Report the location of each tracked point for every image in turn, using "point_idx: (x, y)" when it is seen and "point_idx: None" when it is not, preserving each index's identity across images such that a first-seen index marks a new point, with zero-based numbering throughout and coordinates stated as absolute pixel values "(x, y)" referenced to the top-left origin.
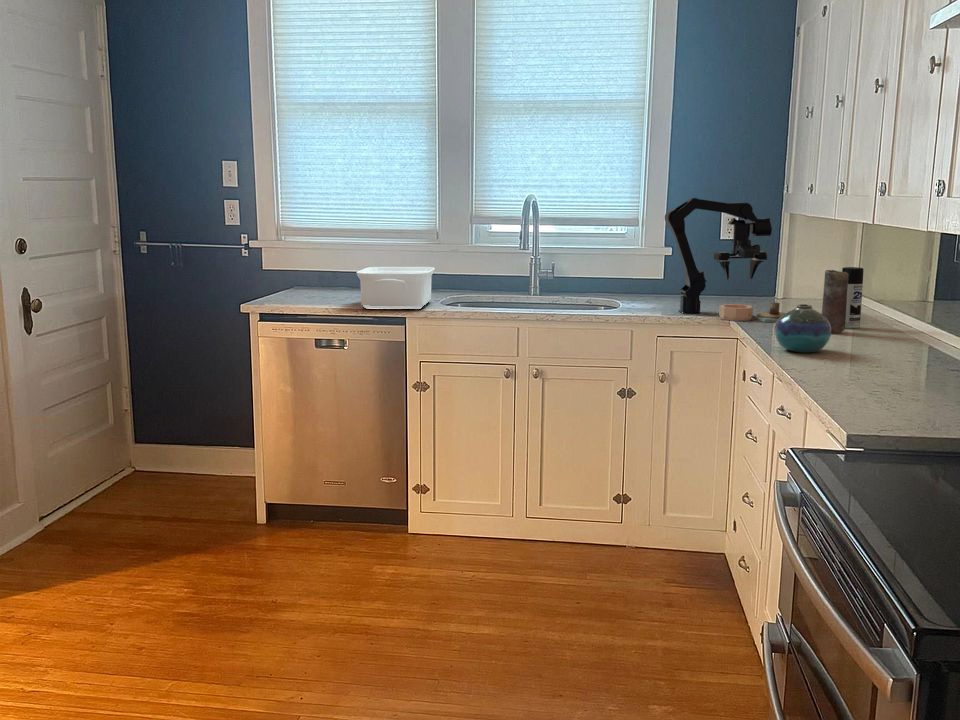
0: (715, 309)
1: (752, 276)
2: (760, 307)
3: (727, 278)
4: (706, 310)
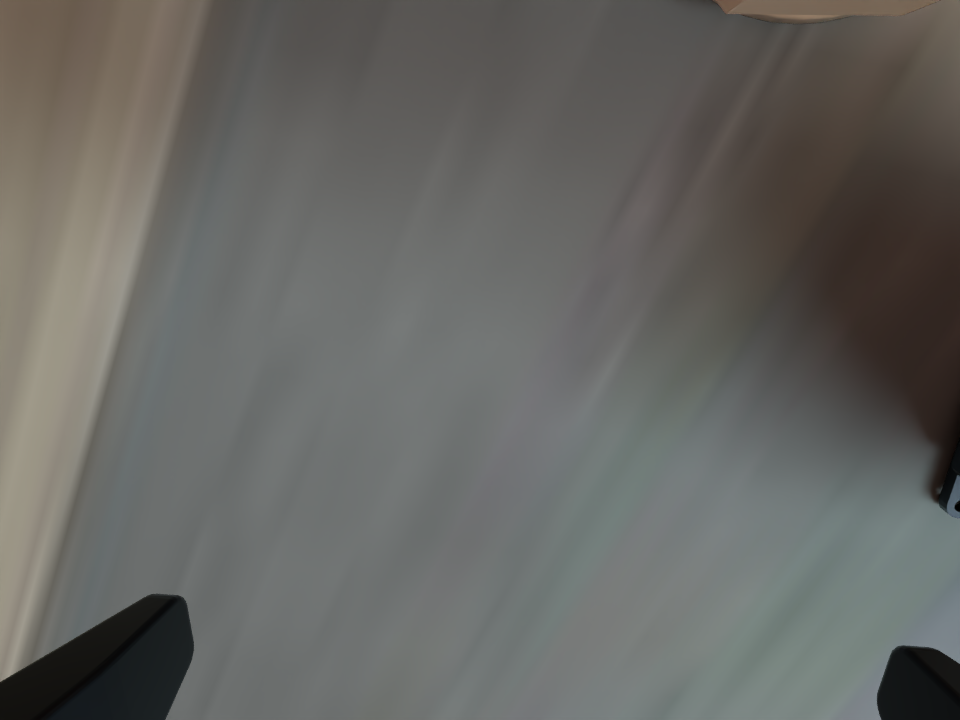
0: (637, 580)
1: (102, 638)
2: None
3: (956, 665)
4: (763, 543)
